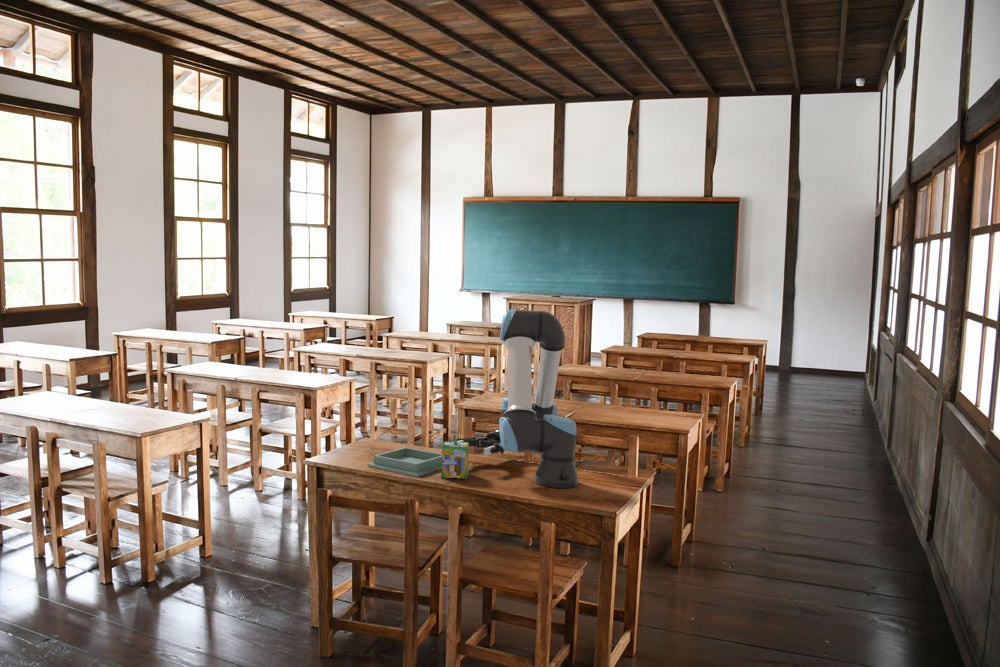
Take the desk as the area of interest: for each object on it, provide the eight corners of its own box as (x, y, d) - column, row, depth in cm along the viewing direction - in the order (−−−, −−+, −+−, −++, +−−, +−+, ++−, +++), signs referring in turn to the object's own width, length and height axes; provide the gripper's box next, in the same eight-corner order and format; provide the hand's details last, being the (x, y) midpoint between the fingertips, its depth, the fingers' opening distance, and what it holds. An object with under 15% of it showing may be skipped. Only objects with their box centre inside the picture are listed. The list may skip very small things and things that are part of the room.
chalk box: (466, 480, 260) (469, 438, 259) (440, 478, 260) (442, 436, 259) (468, 473, 269) (470, 432, 268) (443, 472, 269) (445, 431, 268)
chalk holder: (451, 465, 279) (452, 454, 279) (417, 477, 260) (417, 465, 260) (403, 456, 290) (404, 445, 289) (367, 466, 270) (367, 455, 270)
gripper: (525, 455, 284) (498, 465, 266) (469, 445, 297) (439, 454, 278) (526, 435, 284) (499, 444, 265) (470, 426, 296) (440, 434, 278)
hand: (468, 449), depth 272 cm, fingers open, 13 cm apart
